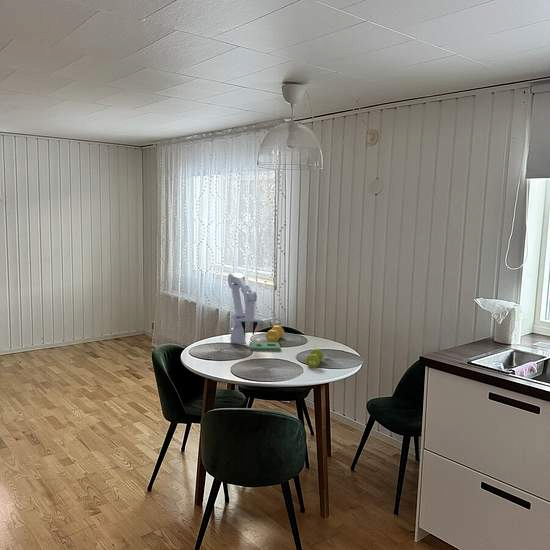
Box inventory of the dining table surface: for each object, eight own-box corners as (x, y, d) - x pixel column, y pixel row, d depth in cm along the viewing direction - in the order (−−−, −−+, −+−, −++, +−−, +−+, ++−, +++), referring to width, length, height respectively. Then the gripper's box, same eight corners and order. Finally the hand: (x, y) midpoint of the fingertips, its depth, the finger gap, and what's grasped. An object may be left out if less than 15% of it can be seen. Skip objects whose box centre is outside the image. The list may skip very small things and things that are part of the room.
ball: (255, 345, 308) (255, 339, 308) (255, 344, 312) (255, 338, 311) (261, 345, 309) (261, 339, 308) (261, 344, 312) (261, 338, 312)
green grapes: (309, 359, 290) (310, 347, 289) (323, 361, 288) (324, 348, 287) (304, 367, 274) (304, 354, 273) (319, 369, 272) (319, 356, 271)
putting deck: (250, 350, 303) (250, 347, 303) (249, 345, 317) (249, 341, 316) (280, 351, 305) (280, 348, 304) (278, 345, 319) (278, 342, 318)
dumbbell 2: (271, 336, 342) (271, 324, 342) (284, 337, 340) (285, 325, 340) (264, 343, 324) (264, 330, 323) (278, 344, 322) (278, 331, 321)
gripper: (237, 313, 303) (237, 335, 304) (262, 313, 304) (261, 336, 306) (237, 310, 310) (236, 332, 311) (261, 311, 311) (260, 333, 313)
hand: (248, 334), depth 309 cm, fingers open, 4 cm apart
